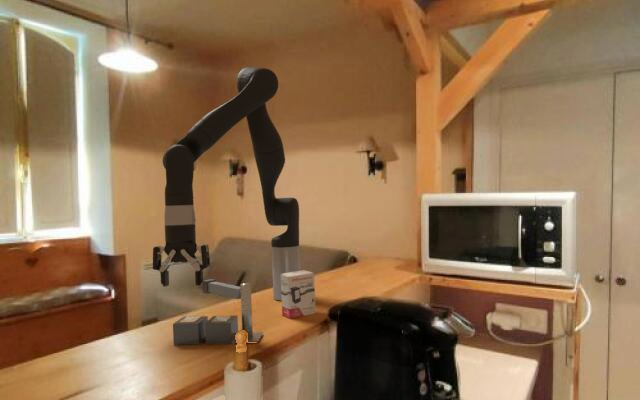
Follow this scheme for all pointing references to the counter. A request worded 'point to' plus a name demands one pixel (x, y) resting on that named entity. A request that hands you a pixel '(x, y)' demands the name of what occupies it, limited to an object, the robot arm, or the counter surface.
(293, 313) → the ink box
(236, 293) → the bar
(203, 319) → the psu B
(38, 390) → the counter surface
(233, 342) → the post
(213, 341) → the block
